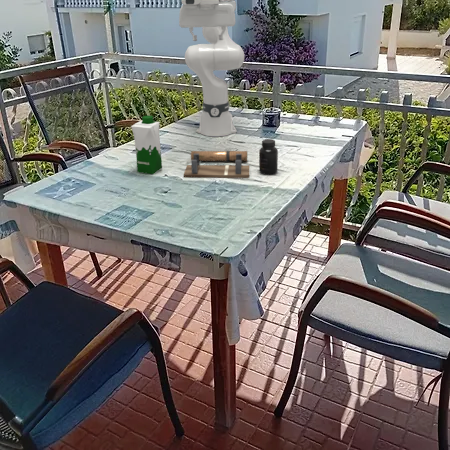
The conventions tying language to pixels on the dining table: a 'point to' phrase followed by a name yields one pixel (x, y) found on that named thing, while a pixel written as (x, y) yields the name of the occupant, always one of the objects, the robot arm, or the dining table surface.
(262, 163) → the supplement bottle
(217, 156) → the copper tube
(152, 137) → the milk carton
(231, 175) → the cradle board
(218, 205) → the dining table surface
